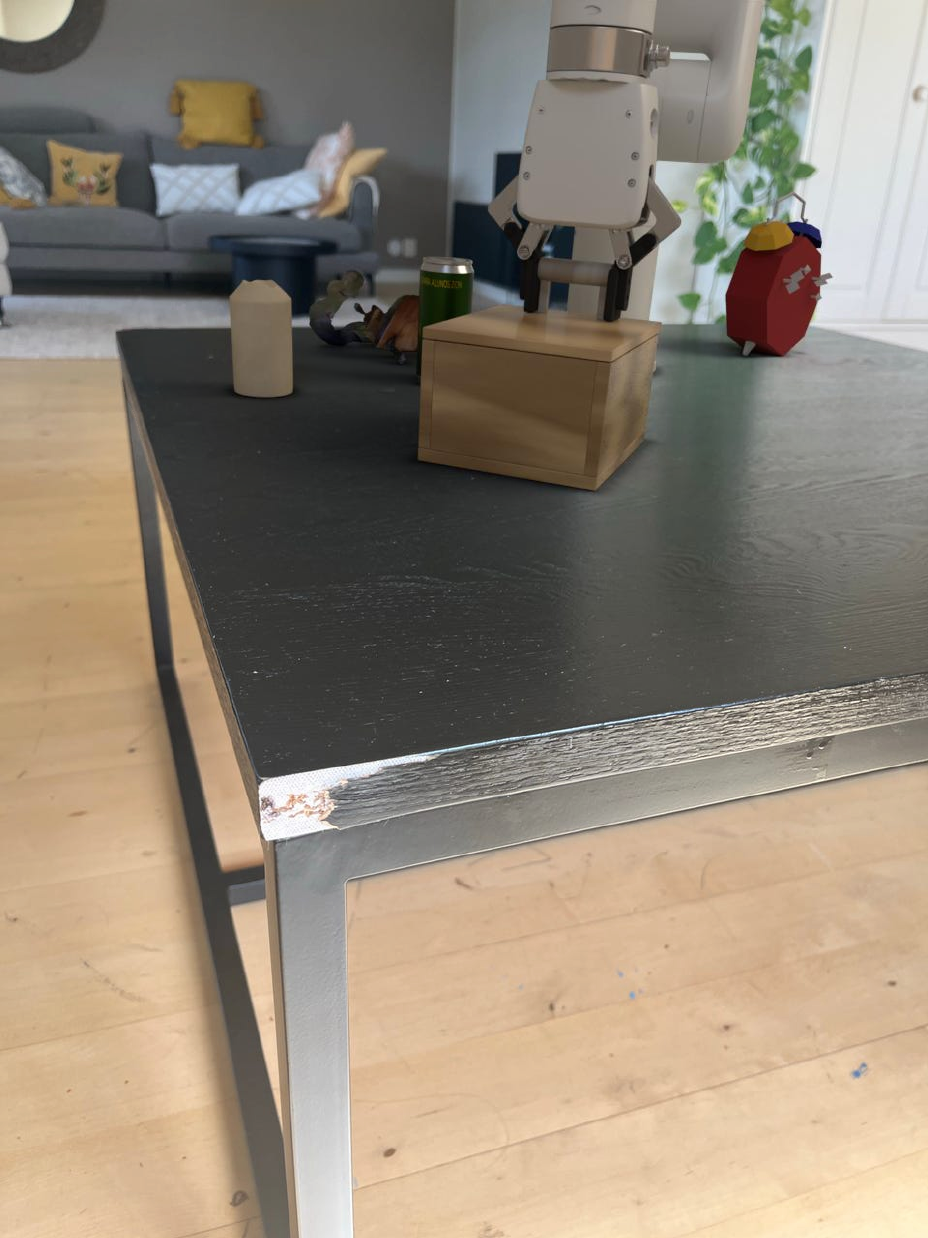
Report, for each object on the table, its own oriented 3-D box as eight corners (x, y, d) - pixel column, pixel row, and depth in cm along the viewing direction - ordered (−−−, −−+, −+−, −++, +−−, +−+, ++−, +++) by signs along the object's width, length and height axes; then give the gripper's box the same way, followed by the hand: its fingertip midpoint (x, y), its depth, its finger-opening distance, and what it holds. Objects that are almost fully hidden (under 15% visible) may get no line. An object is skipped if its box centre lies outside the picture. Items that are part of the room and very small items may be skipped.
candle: (280, 400, 88) (277, 285, 83) (224, 394, 88) (218, 280, 84) (301, 388, 92) (299, 280, 88) (247, 382, 93) (243, 275, 89)
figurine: (341, 379, 118) (288, 337, 106) (357, 312, 119) (305, 264, 107) (450, 390, 112) (406, 347, 101) (466, 320, 113) (424, 269, 101)
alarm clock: (768, 344, 136) (797, 190, 127) (825, 354, 131) (859, 195, 122) (714, 353, 126) (741, 187, 117) (773, 364, 121) (807, 191, 112)
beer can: (474, 386, 98) (482, 262, 93) (425, 387, 96) (430, 261, 91) (457, 375, 103) (463, 257, 97) (409, 376, 101) (413, 255, 96)
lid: (501, 313, 83) (506, 250, 81) (660, 331, 78) (670, 266, 76) (422, 338, 69) (424, 263, 66) (611, 362, 64) (620, 282, 62)
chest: (490, 418, 86) (498, 314, 82) (643, 441, 82) (658, 333, 78) (417, 460, 73) (421, 339, 69) (595, 491, 68) (611, 363, 64)
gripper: (723, 71, 71) (684, 321, 79) (505, 65, 76) (489, 299, 84) (707, 59, 65) (667, 332, 72) (470, 53, 70) (457, 308, 78)
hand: (572, 312), depth 78 cm, fingers closed on lid, 6 cm apart
